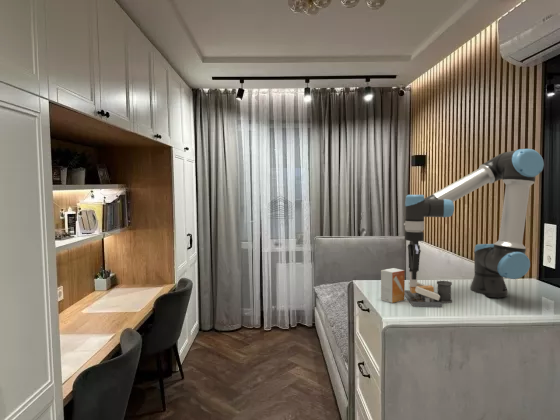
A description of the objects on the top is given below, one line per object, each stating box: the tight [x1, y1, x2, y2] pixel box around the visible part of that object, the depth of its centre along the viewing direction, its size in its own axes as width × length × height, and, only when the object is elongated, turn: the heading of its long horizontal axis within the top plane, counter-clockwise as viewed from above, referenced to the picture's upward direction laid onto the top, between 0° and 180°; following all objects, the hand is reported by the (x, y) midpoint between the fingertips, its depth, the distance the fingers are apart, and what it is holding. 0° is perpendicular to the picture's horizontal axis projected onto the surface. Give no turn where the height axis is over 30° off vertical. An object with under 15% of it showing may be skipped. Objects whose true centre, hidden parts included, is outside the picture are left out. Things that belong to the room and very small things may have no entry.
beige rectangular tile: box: [415, 286, 440, 301], centre depth 153 cm, size 9×3×2 cm, turn 83°
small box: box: [380, 267, 406, 304], centre depth 160 cm, size 8×6×13 cm
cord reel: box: [436, 280, 453, 304], centre depth 158 cm, size 6×6×8 cm
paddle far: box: [408, 281, 428, 286], centre depth 165 cm, size 9×3×2 cm, turn 82°
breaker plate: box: [404, 289, 443, 308], centre depth 159 cm, size 11×18×4 cm, turn 173°
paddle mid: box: [409, 284, 435, 293], centre depth 159 cm, size 9×3×2 cm, turn 83°
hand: (413, 286), depth 159 cm, fingers closed, pressing on paddle mid
